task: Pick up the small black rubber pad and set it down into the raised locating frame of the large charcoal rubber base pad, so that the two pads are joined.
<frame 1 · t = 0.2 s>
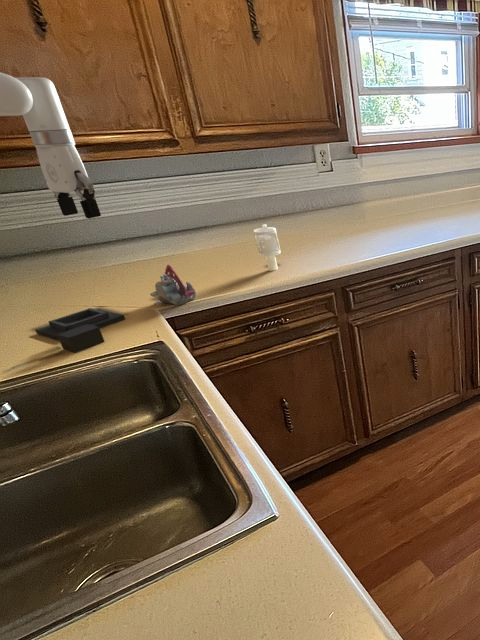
hand: (82, 215, 125), 29 cm above the worktop, tool pointing down, fingers open, 9 cm apart
base pad: (82, 326, 138), on the worktop
top pad: (84, 345, 127), on the worktop
white tall piece: (273, 269, 180), on the worktop
grey creature figurine: (178, 302, 154), on the worktop
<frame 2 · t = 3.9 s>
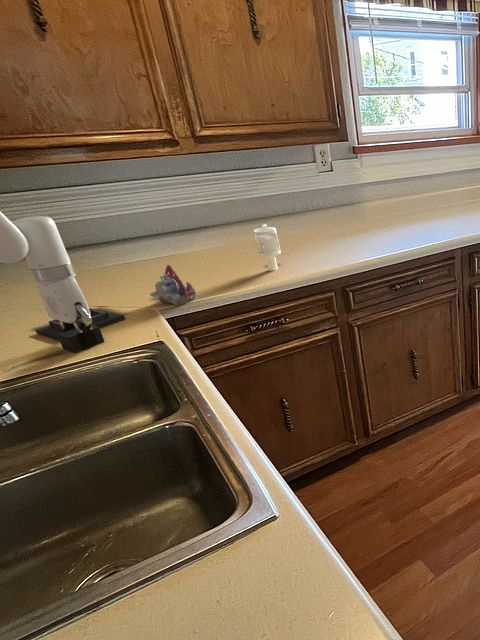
hand: (83, 343, 127), 1 cm above the worktop, tool pointing down, fingers closed on top pad, 5 cm apart
top pad: (84, 345, 127), on the worktop, touching gripper
everything else where it was.
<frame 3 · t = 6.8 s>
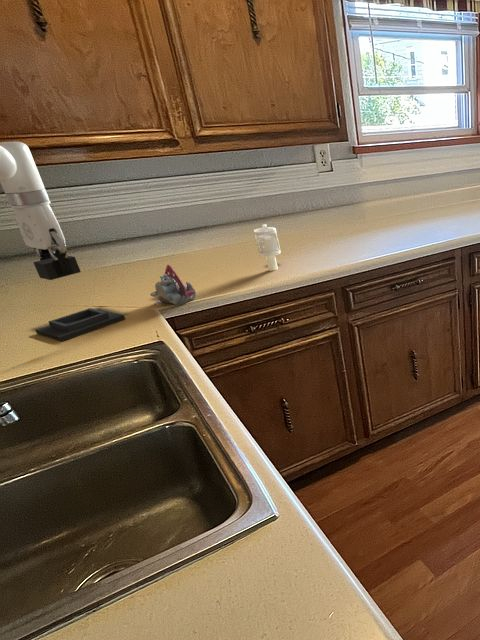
hand: (59, 272, 130), 15 cm above the worktop, tool pointing down, fingers closed on top pad, 5 cm apart
top pad: (60, 274, 130), point 15 cm above the worktop, touching gripper
everything else where it was.
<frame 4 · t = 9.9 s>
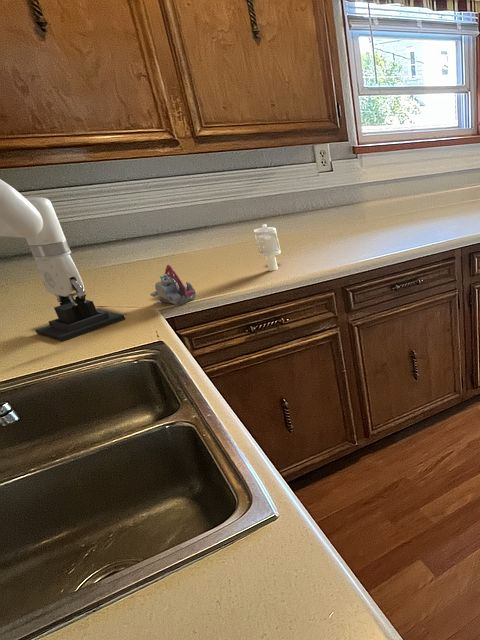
hand: (78, 316, 137), 3 cm above the worktop, tool pointing down, fingers closed on top pad, 5 cm apart
top pad: (79, 318, 137), point 2 cm above the worktop, touching gripper
everything else where it was.
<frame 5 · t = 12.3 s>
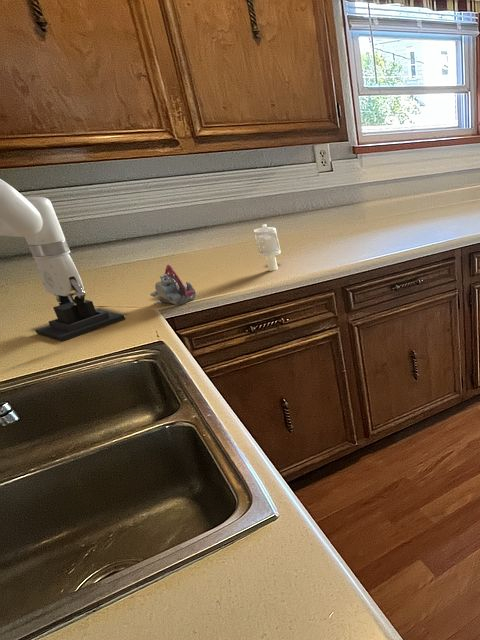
hand: (77, 316, 137), 3 cm above the worktop, tool pointing down, fingers closed on top pad, 5 cm apart
top pad: (78, 318, 137), point 2 cm above the worktop, touching gripper
everything else where it was.
when the fingers open (3 cm above the worktop, at t = 14.6 s): top pad drops 1 cm, resting on base pad.
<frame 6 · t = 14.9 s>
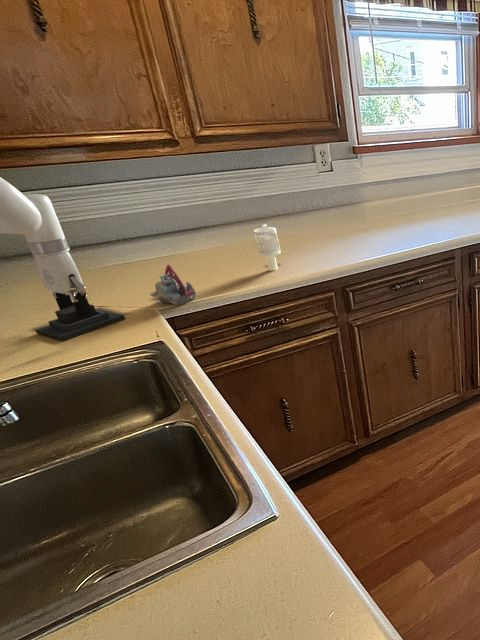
hand: (76, 312, 137), 4 cm above the worktop, tool pointing down, fingers open, 7 cm apart
top pad: (80, 322, 138), point 1 cm above the worktop, touching base pad
everything else where it was.
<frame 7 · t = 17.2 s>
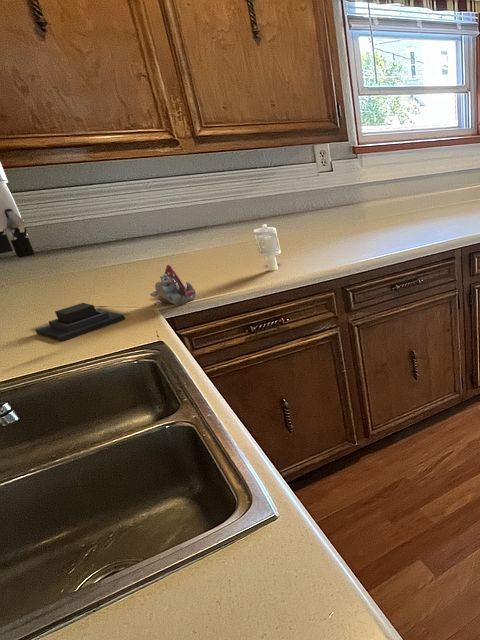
hand: (15, 254, 121), 22 cm above the worktop, tool pointing down, fingers open, 9 cm apart
nothing on the worktop moved.
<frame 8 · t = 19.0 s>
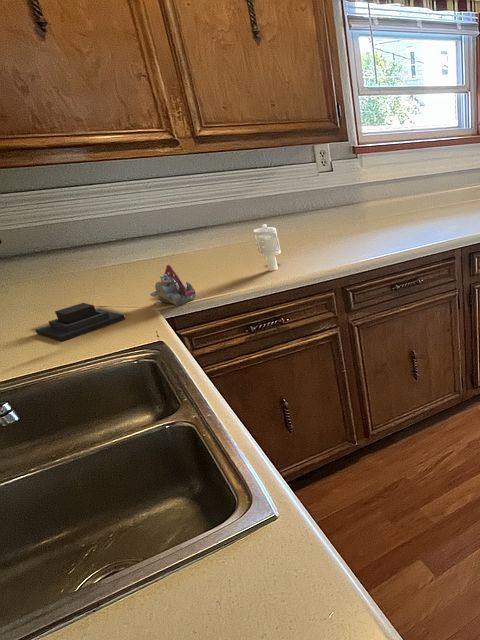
nothing on the worktop moved.
at the end: top pad 0.1 cm off-centre on the base pad, point 1.2 cm above the base pad's base; top pad tilted 0°; the gripper is holding nothing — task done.
